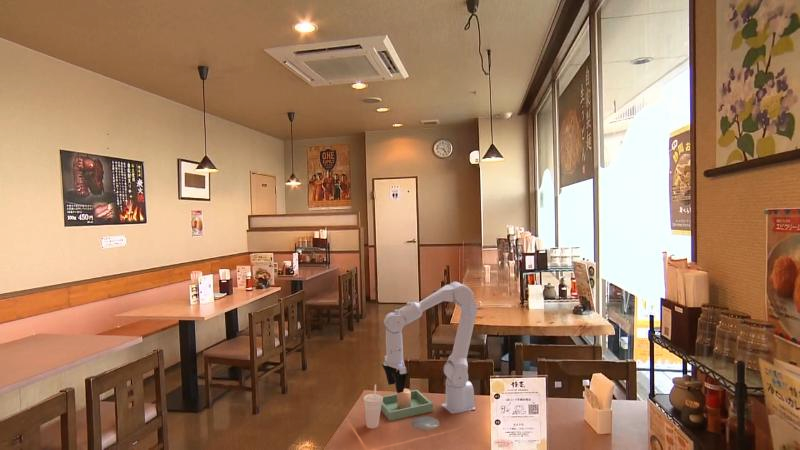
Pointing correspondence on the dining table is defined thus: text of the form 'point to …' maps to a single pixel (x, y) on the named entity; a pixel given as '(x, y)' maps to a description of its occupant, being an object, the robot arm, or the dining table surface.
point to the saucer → (425, 423)
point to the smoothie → (372, 409)
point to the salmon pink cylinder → (404, 399)
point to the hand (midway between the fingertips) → (395, 387)
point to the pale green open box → (417, 407)
